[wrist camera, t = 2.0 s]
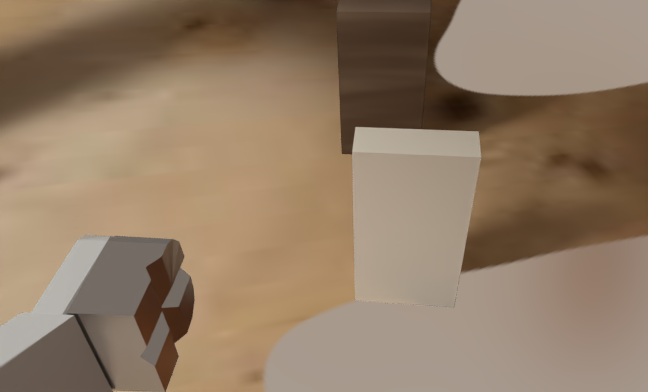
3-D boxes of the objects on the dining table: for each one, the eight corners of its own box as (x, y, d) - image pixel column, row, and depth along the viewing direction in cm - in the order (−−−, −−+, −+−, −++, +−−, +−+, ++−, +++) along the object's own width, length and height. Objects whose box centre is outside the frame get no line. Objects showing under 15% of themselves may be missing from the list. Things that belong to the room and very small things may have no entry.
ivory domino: (454, 307, 30) (481, 157, 23) (355, 300, 31) (352, 152, 24) (453, 282, 31) (478, 131, 24) (357, 275, 32) (355, 126, 25)
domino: (419, 156, 38) (430, 12, 31) (341, 153, 39) (336, 11, 32) (419, 140, 39) (430, -2, 32) (344, 138, 40) (339, -3, 33)
